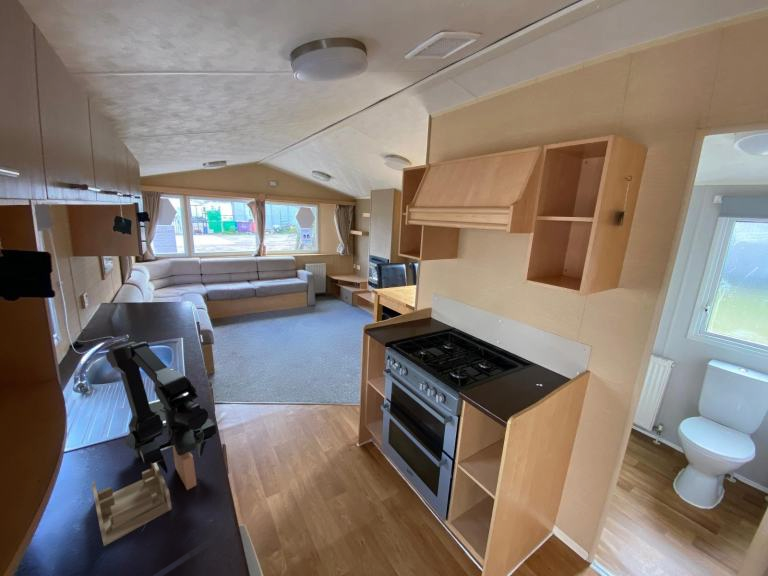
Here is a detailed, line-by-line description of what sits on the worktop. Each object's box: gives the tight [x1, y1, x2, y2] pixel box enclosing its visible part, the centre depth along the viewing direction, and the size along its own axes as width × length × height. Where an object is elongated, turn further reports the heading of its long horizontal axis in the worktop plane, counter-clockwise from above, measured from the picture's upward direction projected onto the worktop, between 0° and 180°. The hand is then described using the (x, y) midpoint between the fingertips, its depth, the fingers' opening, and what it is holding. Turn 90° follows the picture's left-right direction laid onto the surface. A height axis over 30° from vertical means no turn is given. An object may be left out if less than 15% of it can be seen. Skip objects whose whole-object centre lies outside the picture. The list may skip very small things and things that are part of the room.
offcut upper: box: [110, 488, 153, 525], centre depth 82 cm, size 4×8×2 cm, turn 136°
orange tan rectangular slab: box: [171, 446, 197, 491], centre depth 96 cm, size 2×12×10 cm, turn 46°
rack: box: [91, 462, 173, 547], centre depth 86 cm, size 18×14×7 cm
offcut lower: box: [109, 493, 160, 531], centre depth 83 cm, size 4×10×2 cm, turn 136°
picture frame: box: [148, 392, 189, 428], centre depth 131 cm, size 16×3×21 cm
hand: (183, 464), depth 96 cm, fingers open, 9 cm apart
